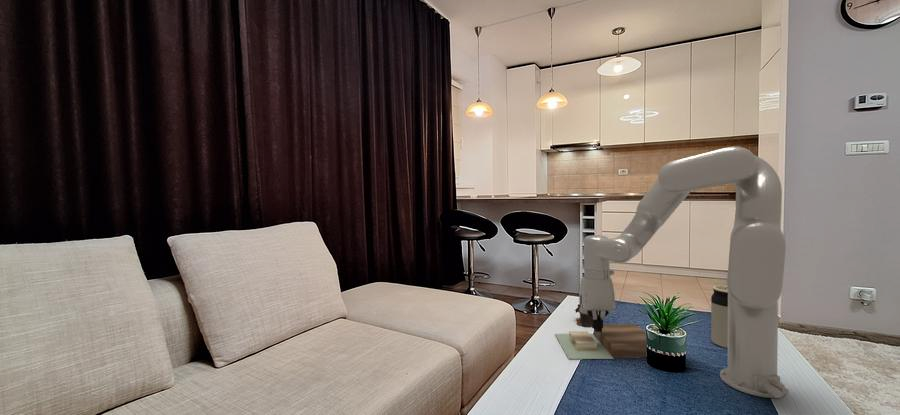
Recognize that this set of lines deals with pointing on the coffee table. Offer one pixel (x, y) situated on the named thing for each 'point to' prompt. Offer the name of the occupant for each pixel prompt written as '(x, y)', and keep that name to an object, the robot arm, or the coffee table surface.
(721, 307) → the beige canister
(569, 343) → the rubber mat
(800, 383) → the coffee table surface
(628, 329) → the walnut board
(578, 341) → the maple tile
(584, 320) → the pottery mug
